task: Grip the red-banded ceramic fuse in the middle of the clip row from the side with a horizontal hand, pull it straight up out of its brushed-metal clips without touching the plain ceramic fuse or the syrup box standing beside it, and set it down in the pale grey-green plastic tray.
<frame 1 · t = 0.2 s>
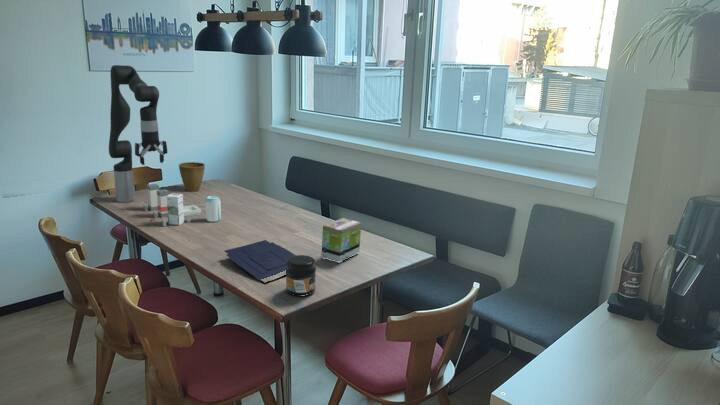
hand: (152, 163, 243), 29 cm above the table, tool pointing down, fingers open, 8 cm apart
syrup box: (176, 223, 249), on the table
clip bank: (164, 215, 260), on the table
dark blue book: (266, 265, 205), on the table
tea box: (340, 256, 217), on the table
can: (213, 220, 256), on the table
plant pot: (192, 190, 310), on the table
marked fuse: (164, 215, 260), on the table
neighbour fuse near: (154, 209, 270), on the table
supplement container: (300, 291, 183), on the table
tray: (188, 213, 266), on the table
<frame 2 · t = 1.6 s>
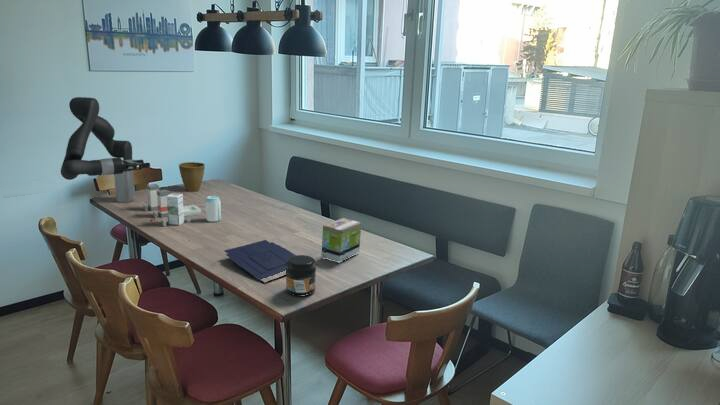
hand: (146, 163, 246), 28 cm above the table, tool horizontal, fingers open, 8 cm apart
nothing on the table moved.
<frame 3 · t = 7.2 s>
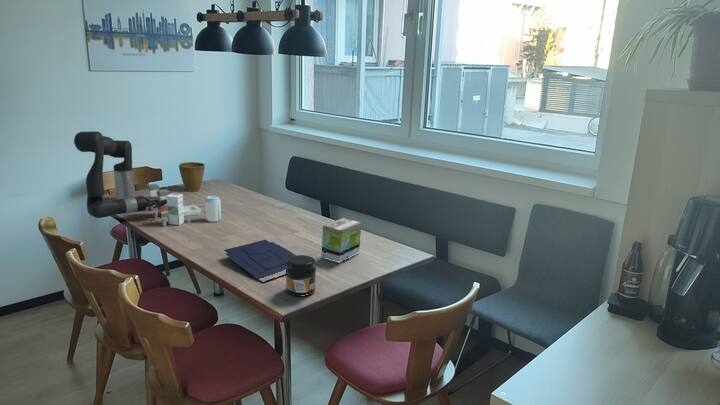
hand: (168, 199, 259), 8 cm above the table, tool horizontal, fingers closed on marked fuse, 4 cm apart
marked fuse: (164, 215, 260), on the table, touching gripper
everything else where it was.
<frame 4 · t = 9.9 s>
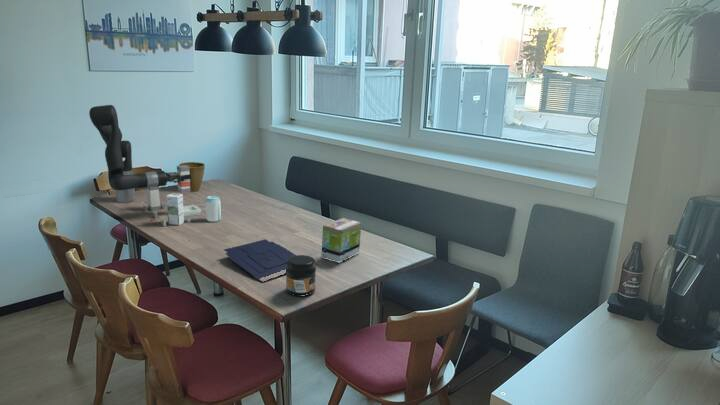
hand: (188, 175, 261), 20 cm above the table, tool horizontal, fingers closed on marked fuse, 4 cm apart
marked fuse: (184, 191, 261), point 12 cm above the table, touching gripper
when the fingers open (10 cm above the table, at t = 12.4 s): marked fuse drops 1 cm, resting on tray.
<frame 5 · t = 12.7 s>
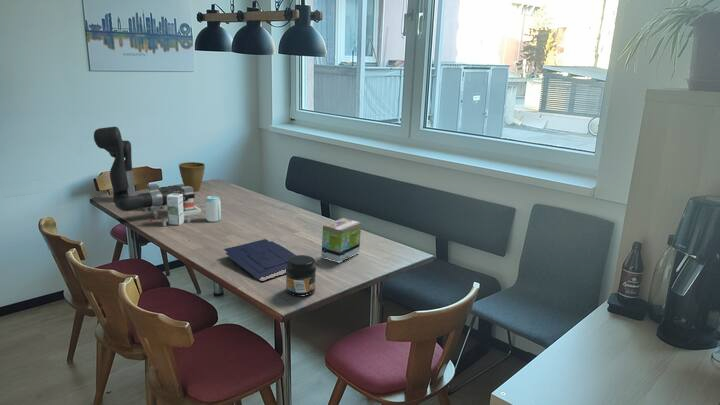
hand: (191, 194, 264), 10 cm above the table, tool horizontal, fingers open, 7 cm apart
marked fuse: (188, 211, 265), point 1 cm above the table, touching tray
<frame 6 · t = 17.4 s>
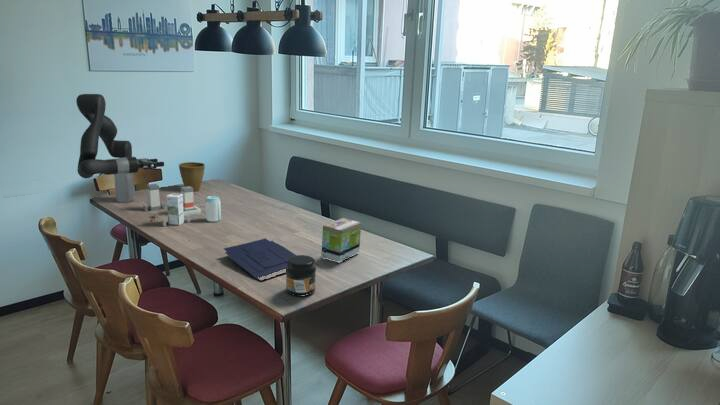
hand: (160, 162, 250), 28 cm above the table, tool horizontal, fingers open, 8 cm apart
at the end: marked fuse inside the target area on the tray (0.1 cm from its centre), point 0.8 cm above the tray's base; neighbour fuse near moved 0.0 cm from its start; syrup box moved 0.2 cm from its start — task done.
